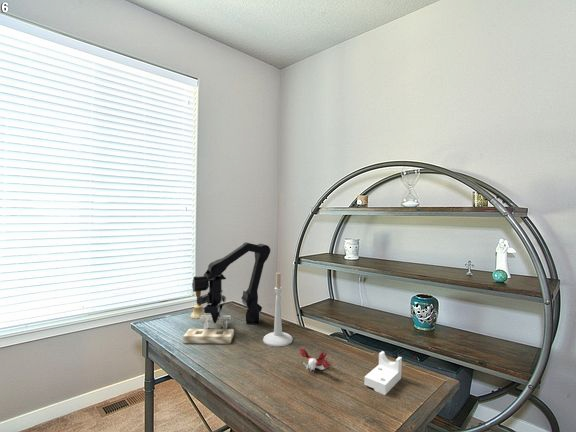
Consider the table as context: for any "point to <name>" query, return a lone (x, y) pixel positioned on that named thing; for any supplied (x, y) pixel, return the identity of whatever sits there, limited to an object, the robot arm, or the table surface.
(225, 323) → the steel clip
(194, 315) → the hand bell
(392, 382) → the bracket
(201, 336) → the maple rail
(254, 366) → the table surface
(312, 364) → the figurine
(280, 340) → the candlestick
